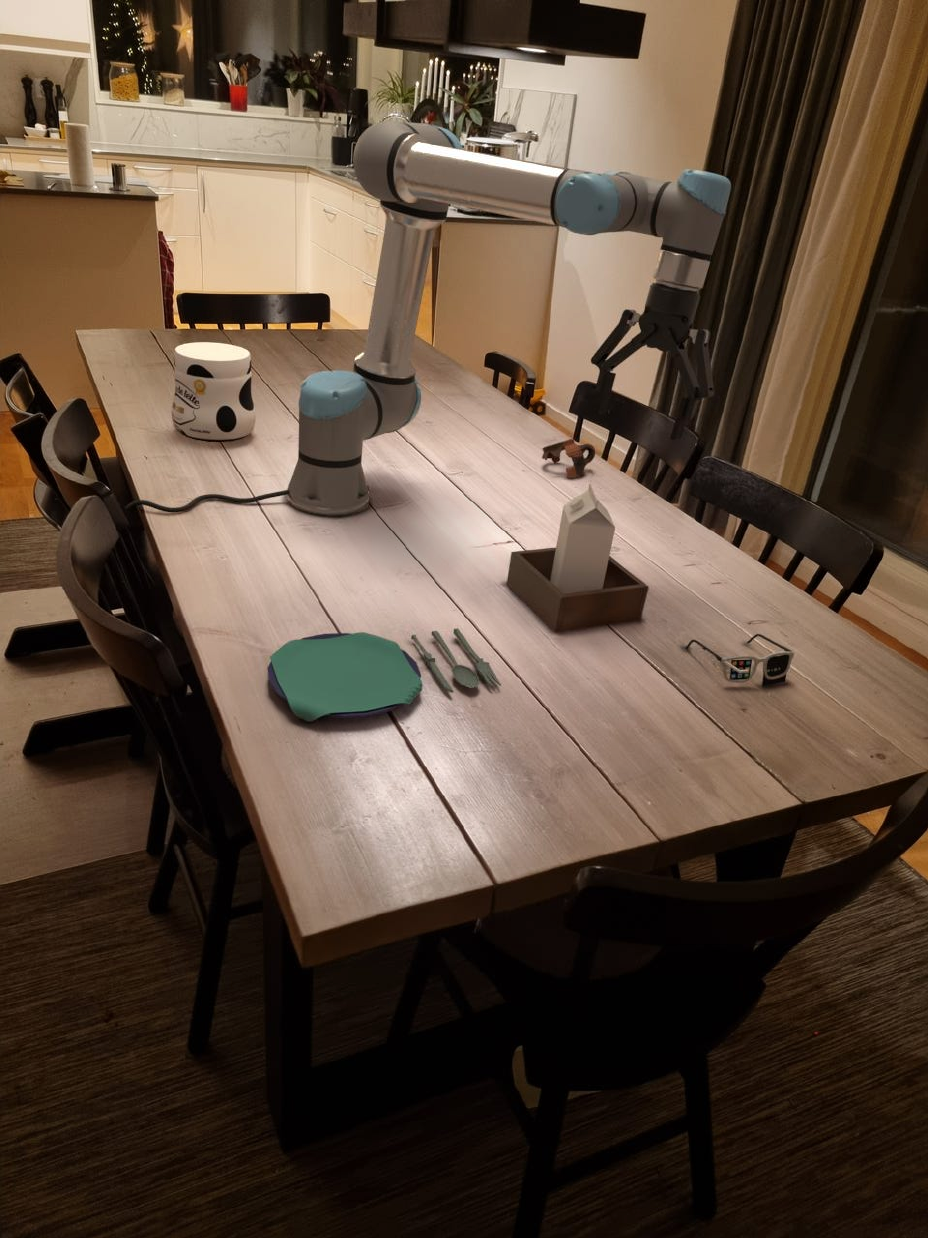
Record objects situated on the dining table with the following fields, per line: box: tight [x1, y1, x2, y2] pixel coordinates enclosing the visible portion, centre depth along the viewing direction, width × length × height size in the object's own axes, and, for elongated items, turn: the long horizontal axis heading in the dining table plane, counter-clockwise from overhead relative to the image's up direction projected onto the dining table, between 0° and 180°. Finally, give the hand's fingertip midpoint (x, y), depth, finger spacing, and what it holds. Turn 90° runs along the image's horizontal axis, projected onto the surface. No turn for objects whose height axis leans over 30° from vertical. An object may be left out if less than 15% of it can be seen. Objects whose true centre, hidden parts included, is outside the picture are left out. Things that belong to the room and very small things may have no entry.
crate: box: [506, 546, 649, 633], centre depth 146 cm, size 16×16×6 cm
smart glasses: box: [685, 633, 795, 687], centre depth 134 cm, size 12×14×5 cm
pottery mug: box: [541, 438, 596, 479], centre depth 203 cm, size 12×10×8 cm
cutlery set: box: [267, 627, 502, 723], centre depth 121 cm, size 20×30×2 cm, turn 113°
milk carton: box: [550, 483, 616, 594], centre depth 143 cm, size 7×7×19 cm
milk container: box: [171, 341, 257, 444], centre depth 193 cm, size 17×17×18 cm
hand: (636, 426), depth 144 cm, fingers open, 13 cm apart
